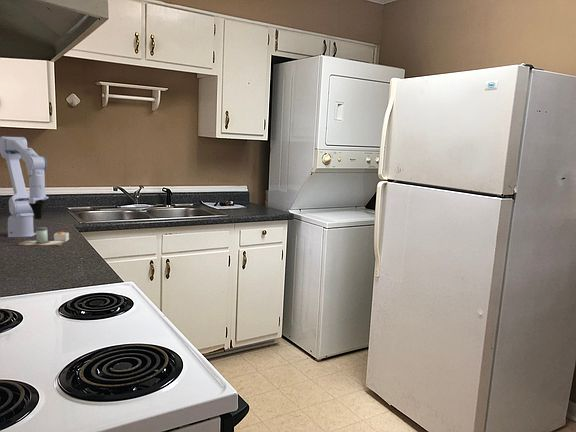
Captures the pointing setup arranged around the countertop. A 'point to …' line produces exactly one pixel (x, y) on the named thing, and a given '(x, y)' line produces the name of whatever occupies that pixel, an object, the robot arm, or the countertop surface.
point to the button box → (61, 237)
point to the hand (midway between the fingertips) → (38, 218)
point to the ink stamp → (42, 235)
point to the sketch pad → (34, 243)
